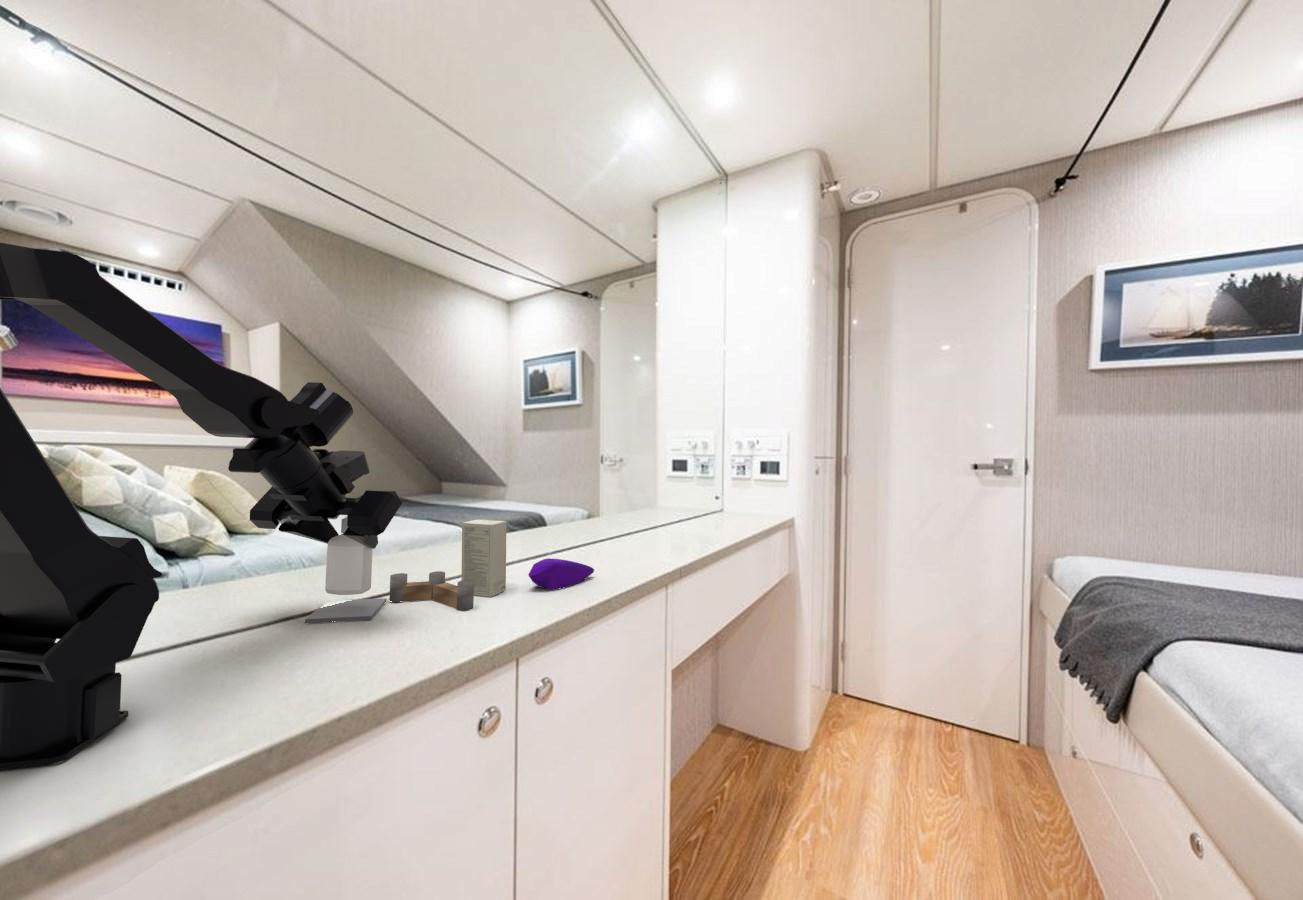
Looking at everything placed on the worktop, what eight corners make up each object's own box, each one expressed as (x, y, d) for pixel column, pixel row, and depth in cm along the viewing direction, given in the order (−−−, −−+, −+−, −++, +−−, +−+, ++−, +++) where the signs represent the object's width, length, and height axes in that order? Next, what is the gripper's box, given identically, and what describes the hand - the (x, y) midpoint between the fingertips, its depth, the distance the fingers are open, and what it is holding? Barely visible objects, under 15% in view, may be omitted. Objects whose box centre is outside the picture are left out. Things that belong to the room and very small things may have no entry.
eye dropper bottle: (344, 598, 65) (348, 512, 65) (320, 592, 67) (324, 509, 67) (375, 591, 69) (378, 509, 69) (351, 585, 71) (355, 506, 71)
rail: (377, 615, 67) (378, 587, 67) (392, 597, 75) (393, 572, 75) (472, 610, 71) (473, 583, 71) (477, 593, 79) (478, 570, 79)
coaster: (304, 623, 63) (304, 619, 63) (327, 604, 71) (327, 600, 71) (370, 620, 65) (371, 615, 65) (386, 602, 73) (386, 598, 73)
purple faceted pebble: (603, 559, 91) (538, 563, 79) (600, 585, 90) (535, 593, 79) (586, 555, 94) (522, 558, 83) (583, 580, 93) (519, 586, 82)
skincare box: (506, 590, 81) (508, 520, 81) (490, 598, 77) (493, 524, 77) (475, 586, 83) (477, 518, 83) (458, 593, 78) (461, 521, 79)
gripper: (396, 431, 63) (439, 505, 74) (274, 428, 66) (332, 500, 76) (349, 494, 55) (405, 566, 66) (211, 487, 58) (287, 558, 68)
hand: (357, 544), depth 69 cm, fingers closed on eye dropper bottle, 6 cm apart
